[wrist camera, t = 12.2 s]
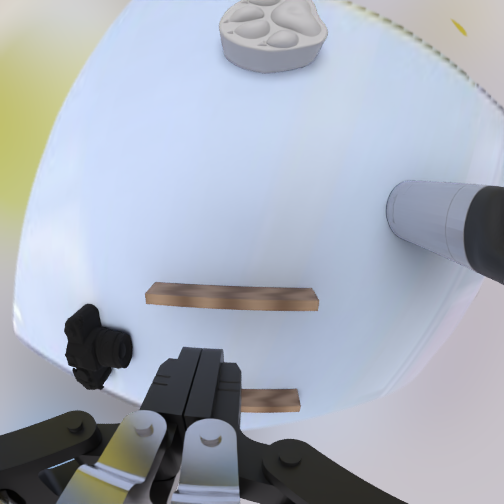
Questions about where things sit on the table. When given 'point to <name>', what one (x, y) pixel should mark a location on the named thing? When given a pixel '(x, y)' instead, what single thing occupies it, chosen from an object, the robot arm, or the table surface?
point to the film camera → (94, 348)
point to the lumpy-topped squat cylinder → (272, 34)
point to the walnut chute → (242, 301)
